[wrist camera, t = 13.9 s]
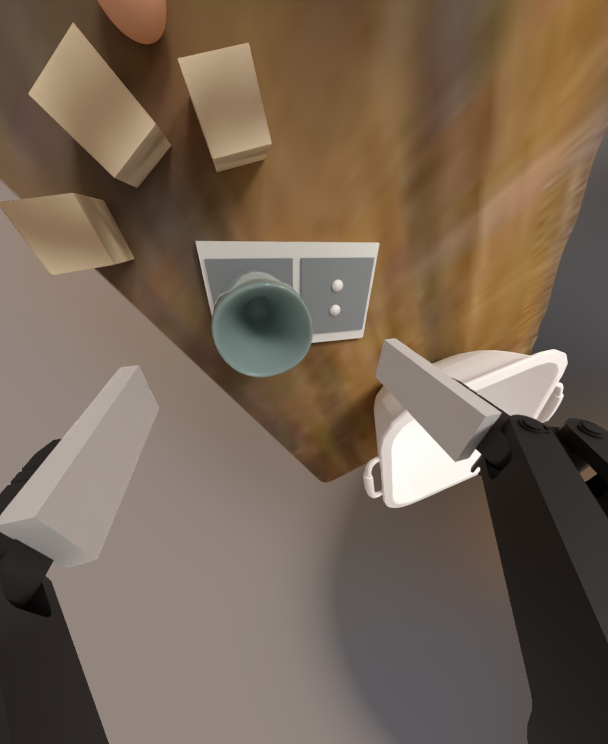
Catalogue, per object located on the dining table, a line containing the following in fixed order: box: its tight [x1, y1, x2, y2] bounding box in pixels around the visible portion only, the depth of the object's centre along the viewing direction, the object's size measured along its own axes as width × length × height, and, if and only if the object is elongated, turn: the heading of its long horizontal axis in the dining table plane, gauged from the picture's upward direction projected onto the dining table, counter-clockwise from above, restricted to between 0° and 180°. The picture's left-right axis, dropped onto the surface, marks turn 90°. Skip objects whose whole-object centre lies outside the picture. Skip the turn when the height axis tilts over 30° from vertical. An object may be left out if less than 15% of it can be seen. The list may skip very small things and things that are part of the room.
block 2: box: [0, 193, 135, 276], centre depth 18 cm, size 4×4×4 cm
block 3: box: [178, 43, 272, 172], centre depth 16 cm, size 4×4×4 cm
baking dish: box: [363, 349, 568, 508], centre depth 39 cm, size 34×28×13 cm
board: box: [195, 241, 379, 343], centre depth 26 cm, size 12×20×1 cm, turn 89°
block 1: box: [28, 23, 171, 188], centre depth 15 cm, size 4×4×4 cm
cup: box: [211, 270, 313, 377], centre depth 21 cm, size 8×8×10 cm
